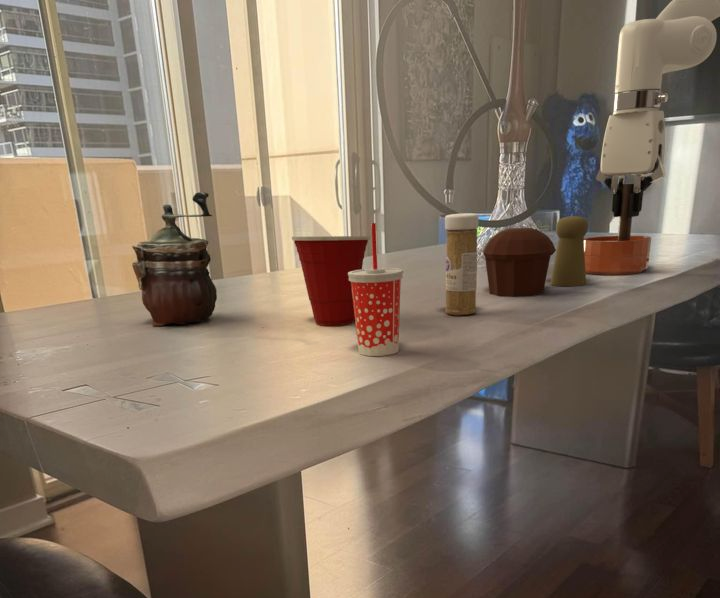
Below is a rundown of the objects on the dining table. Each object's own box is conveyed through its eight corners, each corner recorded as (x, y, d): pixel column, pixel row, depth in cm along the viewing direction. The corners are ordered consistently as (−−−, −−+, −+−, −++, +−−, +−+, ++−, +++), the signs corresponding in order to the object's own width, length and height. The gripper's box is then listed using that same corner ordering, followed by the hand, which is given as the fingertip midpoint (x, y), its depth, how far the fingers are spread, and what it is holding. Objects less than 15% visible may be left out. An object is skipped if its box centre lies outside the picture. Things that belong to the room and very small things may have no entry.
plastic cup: (388, 317, 100) (385, 229, 95) (346, 332, 92) (340, 236, 87) (328, 313, 105) (322, 230, 101) (283, 326, 97) (274, 236, 93)
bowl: (632, 266, 138) (635, 234, 136) (658, 273, 127) (662, 238, 125) (571, 269, 138) (574, 237, 136) (592, 276, 127) (594, 242, 125)
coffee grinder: (197, 333, 96) (177, 193, 89) (126, 326, 104) (103, 197, 97) (257, 316, 106) (243, 189, 99) (188, 312, 114) (171, 193, 106)
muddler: (628, 261, 134) (636, 183, 128) (637, 264, 130) (645, 183, 124) (606, 262, 134) (612, 184, 128) (614, 265, 130) (621, 184, 124)
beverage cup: (378, 343, 84) (374, 221, 79) (415, 349, 80) (413, 221, 74) (341, 353, 80) (333, 225, 75) (378, 360, 76) (372, 225, 71)
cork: (562, 287, 117) (566, 218, 113) (543, 283, 123) (547, 217, 118) (593, 284, 119) (598, 216, 114) (573, 280, 124) (578, 215, 120)
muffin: (475, 297, 112) (476, 232, 108) (486, 287, 122) (487, 227, 118) (551, 297, 108) (555, 230, 105) (556, 287, 118) (559, 224, 114)
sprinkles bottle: (439, 313, 101) (438, 214, 96) (465, 309, 103) (466, 212, 97) (456, 317, 97) (456, 215, 92) (483, 313, 99) (485, 213, 93)
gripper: (691, 99, 118) (677, 214, 126) (602, 110, 129) (594, 215, 136) (674, 98, 113) (661, 217, 121) (583, 108, 124) (576, 218, 131)
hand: (626, 215), depth 128 cm, fingers closed on muddler, 2 cm apart
